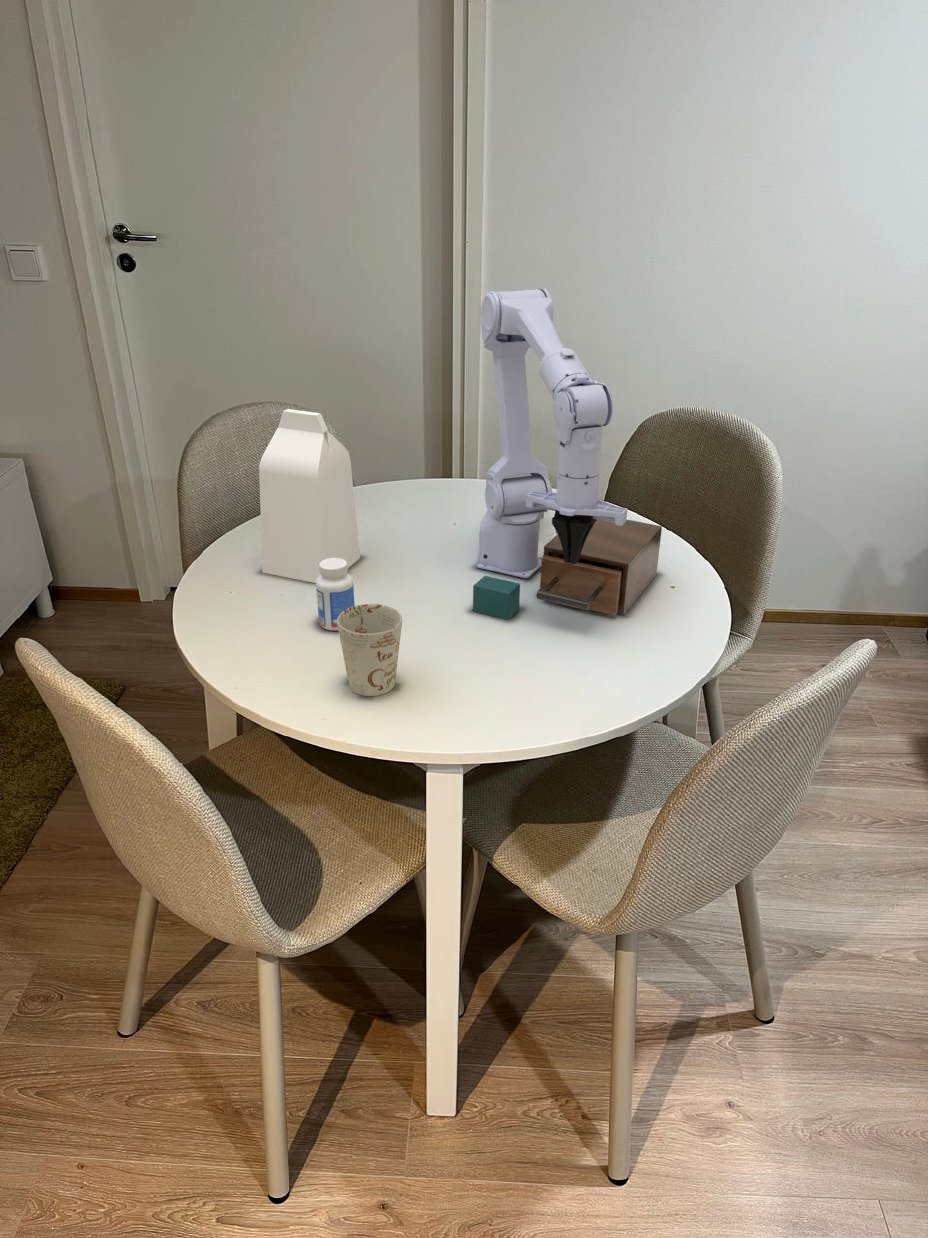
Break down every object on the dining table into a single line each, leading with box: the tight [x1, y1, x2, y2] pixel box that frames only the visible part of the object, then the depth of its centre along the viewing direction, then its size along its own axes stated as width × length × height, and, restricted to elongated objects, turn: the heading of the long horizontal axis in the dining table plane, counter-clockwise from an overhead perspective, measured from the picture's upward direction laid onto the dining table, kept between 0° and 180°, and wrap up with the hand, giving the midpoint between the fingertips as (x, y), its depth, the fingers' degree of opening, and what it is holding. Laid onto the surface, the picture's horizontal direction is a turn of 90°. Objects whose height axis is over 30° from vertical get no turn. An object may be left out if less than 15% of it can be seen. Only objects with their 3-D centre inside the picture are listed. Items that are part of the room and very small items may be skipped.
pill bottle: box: [315, 558, 356, 632], centre depth 143 cm, size 6×5×10 cm
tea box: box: [472, 575, 521, 621], centre depth 149 cm, size 6×4×4 cm, turn 63°
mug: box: [337, 603, 403, 697], centre depth 130 cm, size 8×13×10 cm, turn 27°
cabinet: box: [543, 519, 663, 616], centre depth 156 cm, size 17×14×9 cm
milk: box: [258, 408, 361, 584], centre depth 157 cm, size 12×12×26 cm
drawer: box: [536, 553, 623, 616], centre depth 151 cm, size 22×12×7 cm, turn 153°
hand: (572, 560), depth 142 cm, fingers closed
